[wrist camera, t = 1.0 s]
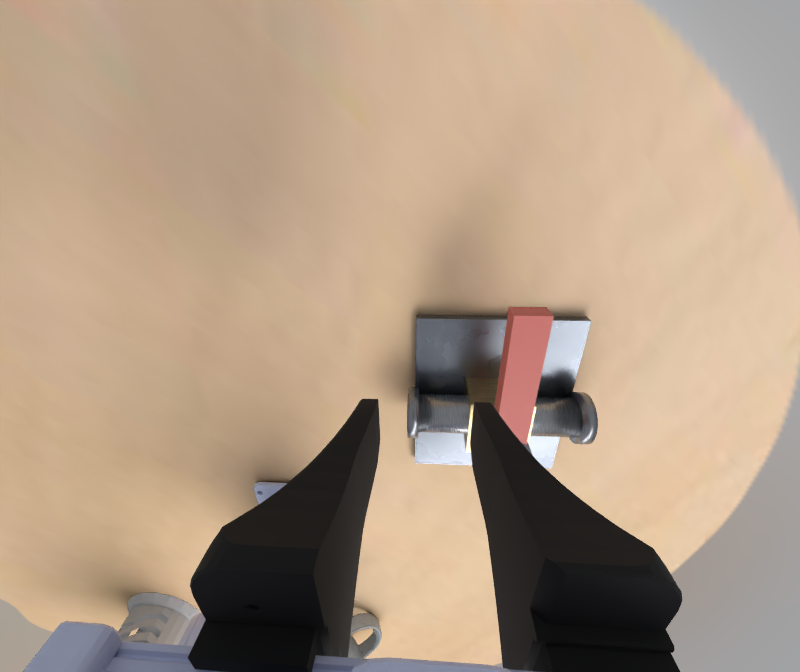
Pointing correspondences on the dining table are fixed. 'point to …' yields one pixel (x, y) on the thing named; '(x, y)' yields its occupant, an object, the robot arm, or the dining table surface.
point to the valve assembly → (492, 386)
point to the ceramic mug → (371, 643)
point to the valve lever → (522, 367)
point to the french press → (156, 619)
